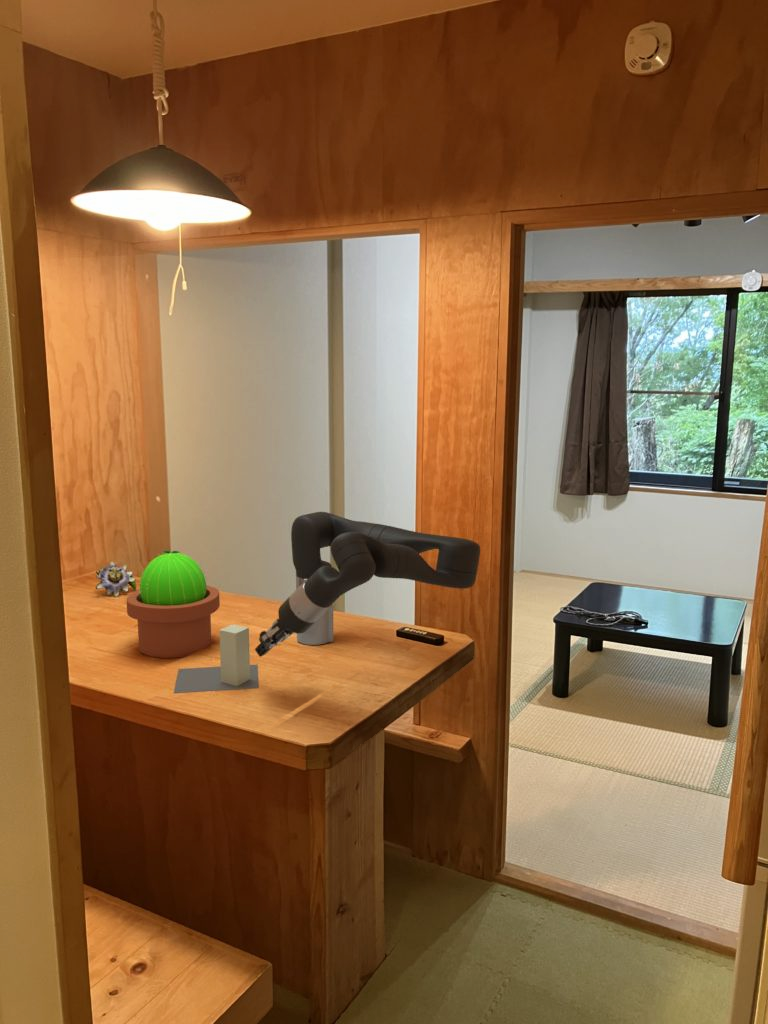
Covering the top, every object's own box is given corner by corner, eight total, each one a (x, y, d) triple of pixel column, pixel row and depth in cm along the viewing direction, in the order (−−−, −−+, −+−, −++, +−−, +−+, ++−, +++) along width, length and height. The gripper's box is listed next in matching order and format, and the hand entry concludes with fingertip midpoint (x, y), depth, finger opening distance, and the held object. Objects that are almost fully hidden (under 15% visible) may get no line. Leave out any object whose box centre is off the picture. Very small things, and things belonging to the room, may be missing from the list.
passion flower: (117, 613, 244) (94, 587, 237) (105, 598, 252) (83, 573, 245) (147, 589, 248) (125, 563, 241) (135, 575, 256) (113, 550, 249)
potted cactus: (197, 666, 188) (194, 563, 183) (112, 658, 192) (107, 557, 188) (233, 635, 209) (230, 542, 204) (156, 629, 213) (152, 538, 209)
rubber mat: (257, 668, 187) (257, 664, 186) (259, 692, 173) (258, 687, 173) (178, 673, 183) (178, 668, 183) (173, 697, 170) (173, 693, 170)
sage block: (250, 679, 178) (248, 627, 175) (236, 686, 174) (235, 633, 172) (234, 675, 180) (233, 624, 178) (221, 681, 176) (219, 629, 174)
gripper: (296, 629, 157) (249, 676, 166) (333, 612, 169) (288, 656, 177) (274, 600, 159) (229, 647, 167) (312, 584, 170) (268, 630, 178)
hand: (259, 652), depth 172 cm, fingers closed
